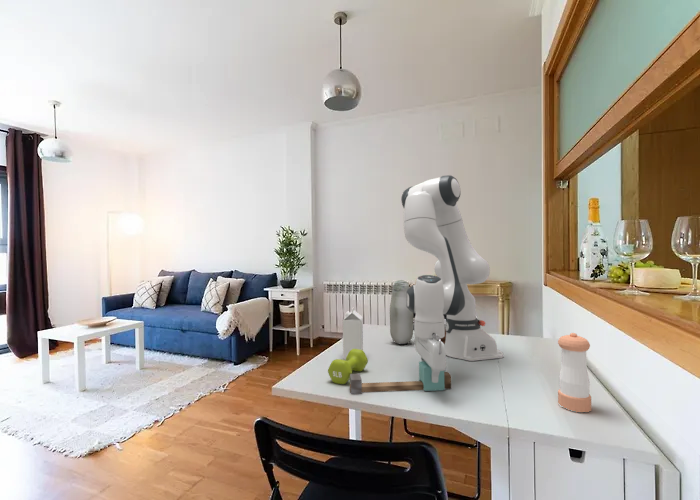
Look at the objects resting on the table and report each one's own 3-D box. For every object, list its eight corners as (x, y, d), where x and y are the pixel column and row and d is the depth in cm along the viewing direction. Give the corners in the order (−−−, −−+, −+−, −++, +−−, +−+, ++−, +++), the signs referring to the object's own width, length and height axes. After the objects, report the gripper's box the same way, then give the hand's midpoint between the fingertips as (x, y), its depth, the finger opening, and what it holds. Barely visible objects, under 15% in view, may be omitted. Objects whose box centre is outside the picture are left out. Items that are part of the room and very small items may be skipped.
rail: (446, 383, 107) (446, 370, 107) (452, 390, 102) (452, 376, 102) (349, 387, 105) (349, 374, 105) (350, 394, 100) (350, 380, 100)
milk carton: (363, 354, 138) (362, 306, 138) (361, 360, 131) (361, 309, 131) (345, 354, 138) (344, 306, 139) (343, 360, 131) (342, 309, 131)
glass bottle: (393, 339, 161) (392, 279, 161) (415, 341, 157) (414, 279, 157) (387, 345, 152) (386, 280, 152) (410, 347, 148) (410, 281, 148)
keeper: (438, 382, 107) (438, 360, 107) (444, 390, 102) (444, 366, 102) (419, 383, 107) (418, 361, 107) (424, 390, 101) (424, 367, 101)
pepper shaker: (558, 409, 89) (557, 334, 89) (558, 398, 95) (557, 328, 96) (592, 415, 85) (591, 337, 86) (590, 404, 92) (589, 331, 92)
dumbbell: (349, 367, 124) (349, 346, 124) (369, 370, 120) (369, 349, 120) (325, 383, 109) (325, 360, 109) (348, 387, 105) (348, 363, 105)
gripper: (452, 338, 94) (452, 389, 94) (430, 322, 115) (430, 364, 114) (429, 338, 94) (429, 390, 94) (411, 323, 114) (411, 365, 114)
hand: (429, 376), depth 104 cm, fingers open, 8 cm apart
